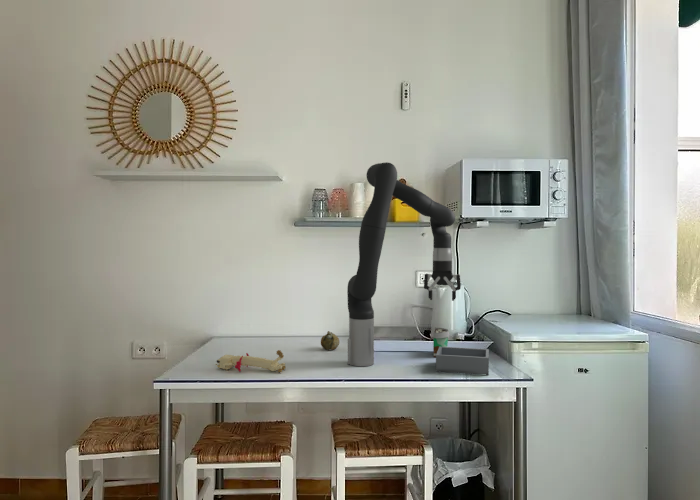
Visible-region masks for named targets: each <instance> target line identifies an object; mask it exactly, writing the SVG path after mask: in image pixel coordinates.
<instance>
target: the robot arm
mask: <svg viewBox="0 0 700 500" xmlns="http://www.w3.org/2000/svg"><path fill="white" fill-rule="evenodd" d="M366 180H367V182H368V184H369V185H370V186H372V187H374V189H373V196H372V199H371V202H370V204H369V206H368V208H367V209H366V211H365V213H364V215H363V218H362V220H361V226H360V229H359V235H358V254H359V258H358V266H357V271H356V274H355V275H353V276H351V277H350V279H349V281H348V282H347V287H346V288H347V309H348V320H349V321H348V333H349V334H348V338H347V365H349V364H350V366H355V367H368V366H373V365H374V363H375V312H374V311H375V310H374V308H373V304H372V298H373V297H374V296H375V294H376V290H377V284H378V283H377V281H378V271H379V270H378V269H379V264H380V263H379V262H380V258H381V254H382V251H383V250H382V249H383V245H384V240H385V235H386V229H387V225H388V224H387V222H388V217H389V212H390V207H391V201H392V197H394V198H396V199H398V200H399V201H400V202H402V203H404V204H406V205H407V206H409V207H410V208H411V209H413V210H415V211H416V212H418V213H419V214H421V215H422V216H424V217H427V218H428V217H429V224H430V227H431V228H430V229H431V233H432V236H433V245H432V246H433V250H432V273H425V274H424V281H423V289H425V290H427V291H428V299H429V300H430V301H433V288H434V287H435V286H436V285H437V286H449V288H450V289H451V290H452V291H451V301H453V302H454V301H455V300H456V299H457V291H459V290H461V286H462V285H461V275H460V273H459V274H453V253H452V252H453V251H452V235H451V233H449V232H448V231H447V227H451V226H452V225H454V224H455V222H456V215H455V212H454V211H453V210H452V209H450V208H449V207H448V206H446V205H443V204H442V203H439V202H437V201H436V200H434V199H432V198H431V197H429V196H428V195H426V194H425V193H423V192H422V191H420V190H419V189H416V188H414V187H413V186H409V185H407V184H405V183H403V182H401V181H400V180H399V179H398V170H397V168H396V166H395V165H394V164H393V163H391V162H388V161H387V162H380V163H379V162H378V163H374V164H373V165H371V166H370V167H368V169H367V171H366ZM430 278H432V280H433V282H432V283H431V285H430V286H429V285H428V284H429V280H430ZM453 278H454V280H455V281H456V286H455V285H454V284H453V282H452V279H453Z"/></svg>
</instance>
